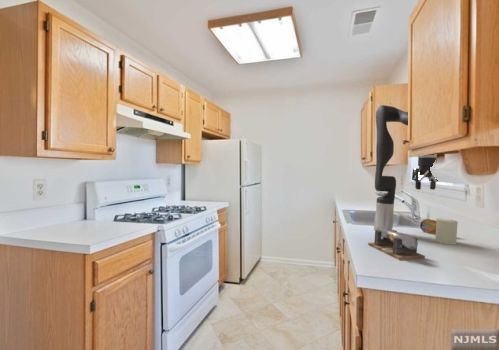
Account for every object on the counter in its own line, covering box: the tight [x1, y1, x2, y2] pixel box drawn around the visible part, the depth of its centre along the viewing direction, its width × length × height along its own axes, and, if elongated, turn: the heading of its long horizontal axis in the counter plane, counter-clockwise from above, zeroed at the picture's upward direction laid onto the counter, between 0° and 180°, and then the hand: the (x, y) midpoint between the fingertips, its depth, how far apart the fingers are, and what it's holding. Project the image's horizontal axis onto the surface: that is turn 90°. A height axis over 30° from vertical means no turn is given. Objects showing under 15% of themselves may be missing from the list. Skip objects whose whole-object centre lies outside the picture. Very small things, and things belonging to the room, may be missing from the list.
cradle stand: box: [367, 229, 426, 261], centre depth 122 cm, size 20×13×8 cm, turn 12°
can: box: [434, 218, 459, 245], centre depth 140 cm, size 9×9×12 cm
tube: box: [377, 227, 419, 250], centre depth 122 cm, size 20×5×5 cm, turn 12°
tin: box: [419, 218, 437, 236], centre depth 155 cm, size 15×3×8 cm, turn 33°
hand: (425, 189), depth 132 cm, fingers open, 8 cm apart
